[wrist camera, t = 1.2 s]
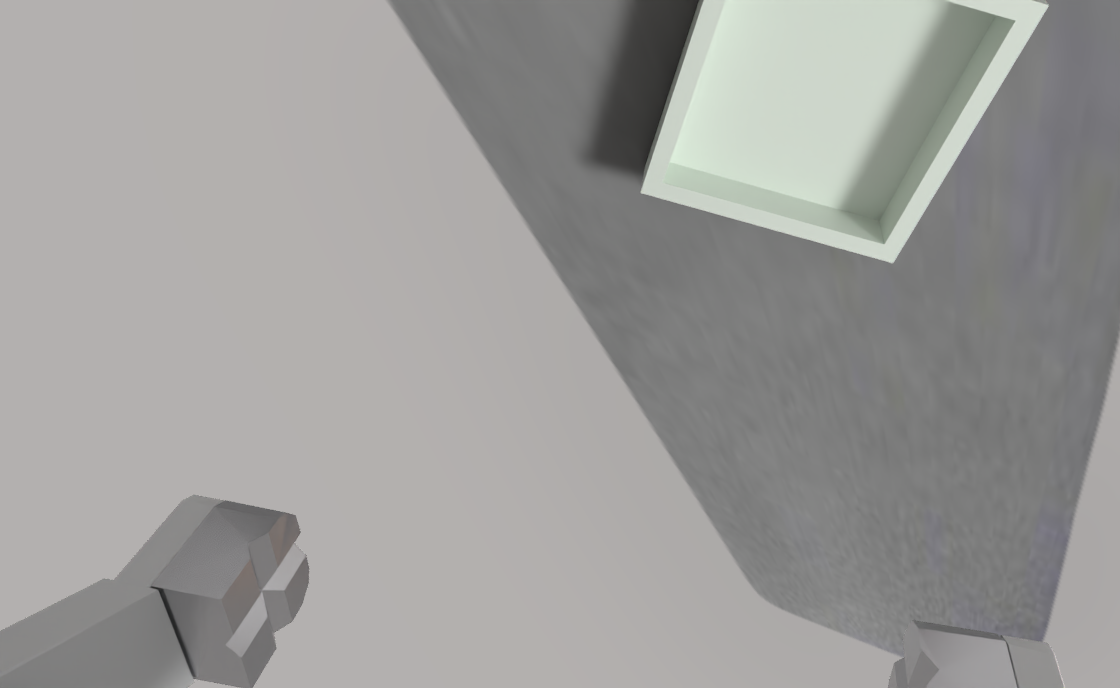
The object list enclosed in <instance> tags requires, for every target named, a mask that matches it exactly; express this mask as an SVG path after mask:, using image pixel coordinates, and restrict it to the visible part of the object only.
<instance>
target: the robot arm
mask: <svg viewBox="0 0 1120 688" xmlns="http://www.w3.org/2000/svg"><path fill="white" fill-rule="evenodd" d="M299 534H300V529H299V525H298V522H297V519H296V516H295V515H292V514H289V513H285V512H280V511H275V510H270V509H265V508H260V507H255V506H250V505H245V504H240V503H235V502H231V501H226V500H225V501H224V500H219V499H214V498H208V497H203V496H198V495H192V496H190V497H189V498H186V499H185V500H183V501H182V502H181V503H180V504H179V505H178V506H177V507H176V508H175V509H174V511H173V512H172V513H171V514H170V515H169V516H168V518H167V519H166V520H165V521H164V522H163V523H162V525H161V526H160V527H159V528H158V529H157V530H156V532H155V533H154V534H153V535H152V536H151V537H150V539H149V540H148V541H147V542H146V543H145V544H144V545H143V547H142V548H141V549H140V550H139V551H138V553H137V554H136V555H135V556H134V557H133V558H132V559H131V561H130V562H129V563H128V564H127V565H126V566H125V568H124V569H123V570H122V571H121V572H120V573H119V575H118V576H117V577H116V578H115V579H114V580H109V579H102V580H100V581H98V582H97V583H95V584H93V585H91V586H89V587H87V588H85V589H83V590H81V591H79V592H77V593H75V594H73V595H71V596H69V597H67V598H65V599H63V600H61V601H59V602H57V603H55V604H53V605H51V606H49V607H47V608H45V609H43V610H41V611H39V612H37V613H35V614H33V615H31V616H29V617H27V618H25V619H24V620H21V621H19V622H17V623H15V624H13V625H12V626H10V627H8V628H5V629H3V630H1V631H0V688H188V687H189V686H190V685H192V684H193V683H194V679H198V680H204V681H209V682H214V683H220V684H225V685H231V686H236V687H241V688H253V686H254V684H255V683H256V681H257V680H258V678H259V676H260V675H261V673H262V671H263V669H264V668H265V666H266V664H267V663H268V661H269V660H270V658H271V656H272V655H273V653H274V651H275V650H276V643H275V636H274V632H276V631H278V630H279V629H281V628H283V627H284V626H286V625H287V624H289V623H291V622H292V621H293V619H294V618H295V616H296V614H297V612H298V611H299V609H300V607H301V605H302V603H303V600H304V596H305V593H306V590H307V587H308V583H309V566H308V562H307V557H306V554H304V552H303V551H302V550H301V549H300V548H299V547H298V546H297V545H296V544H295V543H294V542H295V541H296V539H297V537H298V536H299ZM902 640H903V649H904V658H902V659H901V660H899V661H897V662H895V663H894V666H893V669H892V673H891V676H890V679H889V685H888V688H1065V685H1064V682H1063V679H1062V676H1061V673H1060V669H1059V666H1058V663H1057V660H1056V656H1055V653H1054V651H1053V649H1052V648H1051V647H1050V646H1049V644H1048V643H1045V642H1039V641H1033V640H1027V639H1021V638H1015V637H1010V636H1004V635H1000V636H999V635H998V634H996V633H989V632H983V631H977V630H971V629H964V628H958V627H952V626H946V625H940V624H933V623H927V622H921V621H915V620H912V621H911V622H910V623H909V625H908V626H907V628H906V631H905V634H904V636H903V639H902Z"/></svg>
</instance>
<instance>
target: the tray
mask: <svg viewBox="0 0 1120 688" xmlns="http://www.w3.org/2000/svg"><path fill="white" fill-rule="evenodd" d="M1048 6H1049V5H1048V3H1047V2H1046V1H1045V0H699V2H698V5H697V8H696V11H695V14H694V17H693V20H692V23H691V26H690V29H689V32H688V35H687V38H686V42H685V45H684V48H683V51H682V54H681V57H680V60H679V63H678V66H677V69H676V72H675V75H674V79H673V82H672V85H671V88H670V91H669V94H668V97H667V100H666V103H665V106H664V109H663V112H662V115H661V119H660V122H659V125H658V128H657V131H656V134H655V137H654V140H653V143H652V146H651V149H650V152H649V156H648V159H647V162H646V165H645V169H644V175H643V181H642V187H641V192H640V193H643V194H647V195H650V196H654V197H657V198H661V199H664V200H668V201H672V202H675V203H679V204H682V205H686V206H690V207H693V208H697V209H700V210H704V211H708V212H711V213H715V214H718V215H722V216H725V217H729V218H733V219H736V220H740V221H743V222H747V223H751V224H754V225H758V226H761V227H765V228H768V229H772V230H776V231H779V232H783V233H786V234H790V235H794V236H797V237H801V238H804V239H808V240H812V241H815V242H819V243H822V244H826V245H829V246H833V247H837V248H840V249H844V250H847V251H851V252H855V253H858V254H862V255H865V256H869V257H873V258H876V259H880V260H883V261H887V262H890V263H893V262H894V261H895V259H896V257H897V256H898V254H899V252H900V251H901V249H902V247H903V246H904V244H905V243H906V241H907V239H908V238H909V236H910V234H911V233H912V231H913V229H914V228H915V226H916V224H917V223H918V221H919V219H920V218H921V216H922V214H923V213H924V211H925V209H926V208H927V206H928V205H929V203H930V201H931V200H932V198H933V196H934V195H935V193H936V191H937V190H938V188H939V186H940V185H941V183H942V181H943V180H944V178H945V176H946V175H947V173H948V171H949V170H950V168H951V167H952V165H953V163H954V162H955V160H956V158H957V157H958V155H959V153H960V152H961V150H962V148H963V147H964V145H965V143H966V142H967V140H968V138H969V137H970V135H971V133H972V132H973V130H974V129H975V127H976V125H977V124H978V122H979V120H980V119H981V117H982V115H983V114H984V112H985V110H986V109H987V107H988V105H989V104H990V102H991V100H992V99H993V97H994V95H995V94H996V92H997V91H998V89H999V87H1000V86H1001V84H1002V82H1003V81H1004V79H1005V77H1006V76H1007V74H1008V72H1009V71H1010V69H1011V67H1012V66H1013V64H1014V62H1015V61H1016V59H1017V57H1018V56H1019V54H1020V52H1021V51H1022V49H1023V48H1024V46H1025V44H1026V43H1027V41H1028V39H1029V38H1030V36H1031V34H1032V33H1033V31H1034V29H1035V28H1036V26H1037V24H1038V23H1039V21H1040V19H1041V18H1042V16H1043V14H1044V13H1045V11H1046V10H1047V8H1048Z"/></svg>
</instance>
